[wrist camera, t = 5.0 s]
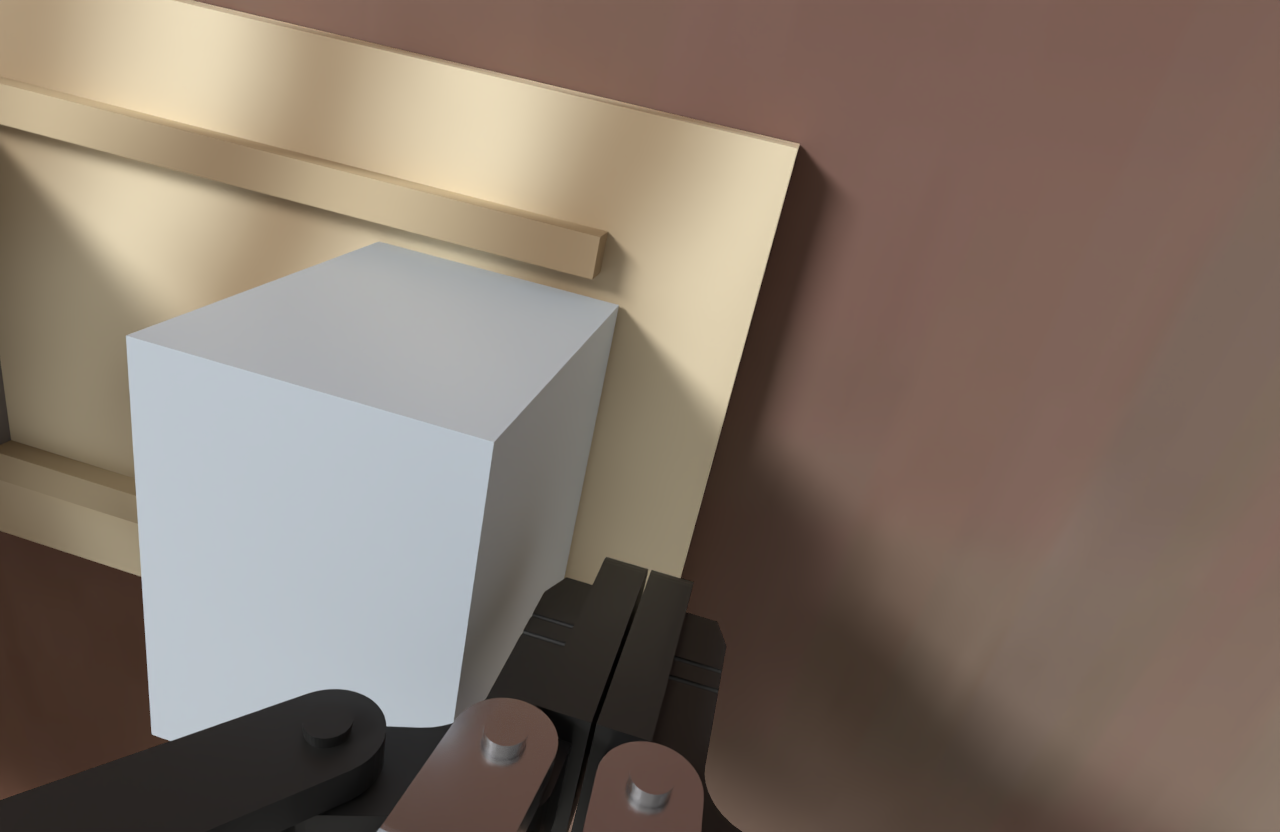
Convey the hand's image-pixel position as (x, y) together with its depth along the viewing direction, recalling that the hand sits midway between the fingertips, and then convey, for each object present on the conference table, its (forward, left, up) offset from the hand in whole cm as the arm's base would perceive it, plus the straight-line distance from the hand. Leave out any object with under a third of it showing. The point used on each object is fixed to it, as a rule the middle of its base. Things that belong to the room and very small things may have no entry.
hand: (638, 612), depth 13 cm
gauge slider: (+6, +2, -4) cm, 7 cm away
